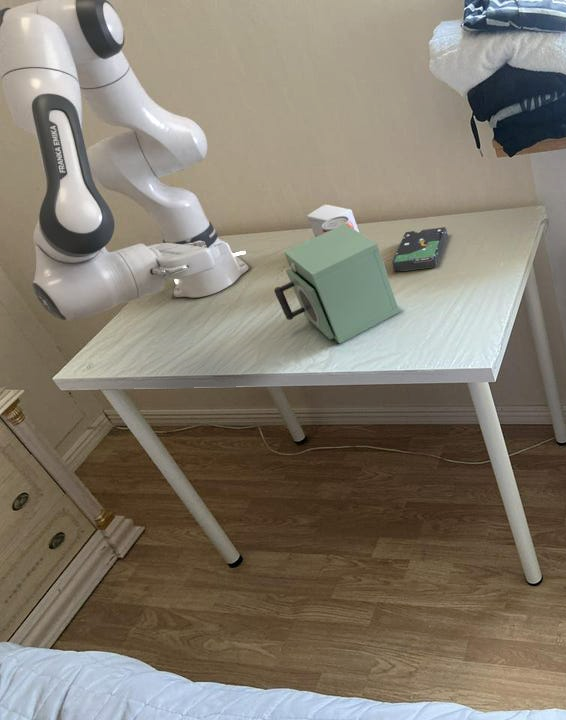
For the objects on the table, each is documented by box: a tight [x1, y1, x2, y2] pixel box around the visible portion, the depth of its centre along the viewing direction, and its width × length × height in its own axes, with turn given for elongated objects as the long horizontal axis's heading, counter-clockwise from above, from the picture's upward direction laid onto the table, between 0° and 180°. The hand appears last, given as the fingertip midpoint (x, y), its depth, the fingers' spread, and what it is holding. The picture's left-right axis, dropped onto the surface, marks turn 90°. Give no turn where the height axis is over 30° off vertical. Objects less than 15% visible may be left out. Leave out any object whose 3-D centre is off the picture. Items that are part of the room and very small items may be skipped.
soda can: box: [322, 216, 355, 234], centre depth 158 cm, size 7×7×13 cm
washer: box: [283, 224, 400, 344], centre depth 142 cm, size 14×15×16 cm
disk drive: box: [391, 226, 449, 272], centre depth 161 cm, size 10×3×15 cm
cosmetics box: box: [306, 203, 360, 238], centre depth 170 cm, size 10×6×10 cm, turn 50°
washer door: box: [274, 268, 334, 340], centre depth 139 cm, size 5×13×11 cm, turn 34°
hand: (215, 245), depth 130 cm, fingers open, 8 cm apart
